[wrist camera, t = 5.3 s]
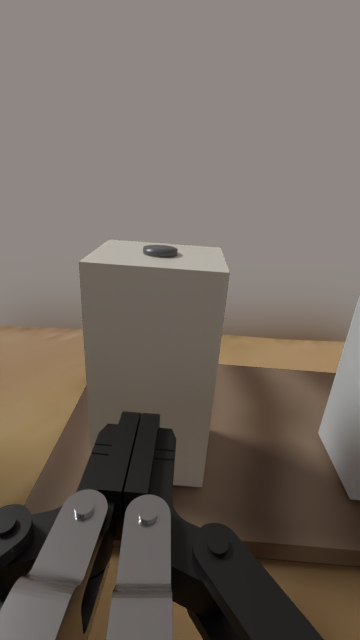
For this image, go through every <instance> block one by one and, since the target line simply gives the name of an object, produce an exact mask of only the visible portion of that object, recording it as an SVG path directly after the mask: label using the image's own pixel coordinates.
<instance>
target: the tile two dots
mask: <svg viewBox="0 0 360 640" xmlns="http://www.w3.org/2000/svg"><path fill="white" fill-rule="evenodd" d="M318 434H319V436H320V438H321V440H322V442H323V444H324V446H325V449H326V451H327V453H328V455H329V457H330V459H331V461H332V463H333V465H334V467H335V469H336V471H337V473H338V476H339V478H340V480H341V482H342V484H343V486H344V488H345V490H346V492H347V494H348V496H349V498H350V499H351V500H360V296H359V299H358V302H357V306H356V309H355V312H354V315H353V319H352V322H351V325H350V329H349V332H348V335H347V339H346V342H345V345H344V349H343V352H342V355H341V359H340V362H339V365H338V368H337V372H336V375H335V378H334V382H333V385H332V388H331V392H330V395H329V398H328V402H327V405H326V408H325V411H324V415H323V418H322V421H321V425H320V428H319V431H318Z"/></svg>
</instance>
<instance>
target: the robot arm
mask: <svg viewBox="0 0 360 640" xmlns="http://www.w3.org/2000/svg"><path fill="white" fill-rule="evenodd" d="M175 452H176V437H175V435H174V432H173V430H172V429H169V428H160V414H152V413H142V415H141V413H139V412H127V411H123V412H122V414H121V417H120V420H119V424H107V425H106V426H105V427H104V428H103V429H102V430H101V431H100V432H99V433H98V436H97V439H96V441H95V445H94V447H93V449H92V452H91V455H90V457H89V460H88V462H87V465H86V468H85V470H84V473H83V476H82V478H81V481H80V483H79V486H78V489H77V491H76V493H74V494H73V495H71V496H70V497H69V498H68V499H67V500H66V501H65V502H64V504H63V505H62V506H61V507H59V508H56V509H54V510H50V511H46V512H42V513H37V514H33V515H31V513H30V511H29V510H28V509H27V508H26V507H25V506H22V505H17V504H14V505H8V506H4V507H2V508H0V640H88V637H89V634H90V630H91V627H92V623H93V620H94V617H95V613H96V610H97V606H98V603H99V600H100V596H101V593H102V589H103V586H104V582H105V579H106V576H107V572H108V569H109V564H110V557H111V553H112V548H113V544H114V540H118V541H121V548H120V556H119V564H118V571H117V579H116V585H115V589H114V590H113V594H112V600H111V607H110V614H109V621H108V629H107V636H106V640H173V617H172V601H174V602H176V603H178V604H179V605H181V606H183V607H185V608H187V611H188V614H189V616H190V618H191V619H192V621H193V623H194V624H195V626H196V628H197V630H198V631H199V633H200V635H201V636H202V638H203V640H324V639H323V638H322V637H321V636H320V634H319V633H318V632H317V631H316V630H315V628H314V627H313V626H312V625H311V624H310V622H309V621H308V620H307V619H306V618H305V616H304V615H303V614H302V613H301V612H300V610H299V609H298V608H297V607H296V606H295V604H294V603H293V602H292V601H291V600H290V598H289V597H288V596H287V595H286V594H285V592H284V591H283V590H282V589H281V588H280V586H279V585H278V584H277V583H276V582H275V580H274V579H273V578H272V577H271V576H270V574H269V573H268V572H267V571H266V570H265V568H264V567H263V566H262V565H261V564H260V562H259V561H258V560H257V559H256V558H255V556H254V555H253V554H252V553H251V552H250V550H249V549H248V548H247V547H246V546H245V544H244V543H243V542H242V541H241V540H240V538H239V537H238V536H237V535H236V534H235V533H234V532H233V530H231V529H230V528H229V527H227V526H225V525H223V524H220V523H208V524H205V525H203V526H202V527H198V526H196V525H193V524H191V523H189V522H187V521H185V520H184V519H182V518H181V517H180V516H179V515H178V513H177V512H176V510H175V509H174V506H173V502H172V491H173V478H174V465H175Z"/></svg>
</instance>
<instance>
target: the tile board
mask: <svg viewBox="0 0 360 640" xmlns="http://www.w3.org/2000/svg"><path fill="white" fill-rule="evenodd" d="M335 375H336V373H326V372H313V371H300V370H287V369H274V368H261V367H248V366H235V365H222V364H218V368H217V376H216V383H215V391H214V399H213V407H212V415H211V422H210V430H209V438H208V446H207V454H206V461H205V469H204V477H203V485H202V487H192V486H180V485H173V491H172V502H173V506H174V509H175V510H176V512H177V513H178V515H179V516H180V517H181V518H182V519H184V520H185V521H187V522H189V523H191V524H193V525H196V526H198V527H202V526H203V525H205V524H208V523H220V524H223V525H225V526H227V527H229V528H230V529H231V530H233V532H234V533H235V534H236V535H237V536H238V537H239V538H240V540H241V541H242V542H243V543H244V544H245V546H246V547H247V548H248V549H249V550H250V552H251V553H252V554H253V555H254V556H255V558H264V559H276V560H288V561H300V562H312V563H324V564H335V565H347V566H359V567H360V500H351V499H350V498H349V496H348V494H347V492H346V490H345V488H344V486H343V484H342V482H341V480H340V478H339V476H338V473H337V471H336V469H335V467H334V465H333V463H332V461H331V459H330V457H329V455H328V453H327V451H326V449H325V446H324V444H323V442H322V440H321V438H320V436H319V434H318V431H319V428H320V425H321V421H322V418H323V415H324V411H325V408H326V405H327V402H328V398H329V395H330V392H331V388H332V385H333V382H334V378H335ZM90 455H91V447H90V431H89V415H88V399H87V386H86V388H85V390H84V391H83V393H82V395H81V397H80V399H79V401H78V403H77V405H76V407H75V409H74V411H73V413H72V414H71V416H70V418H69V420H68V422H67V424H66V426H65V428H64V430H63V432H62V434H61V436H60V438H59V439H58V441H57V443H56V445H55V447H54V449H53V451H52V453H51V455H50V457H49V459H48V461H47V463H46V464H45V466H44V468H43V470H42V472H41V474H40V476H39V478H38V480H37V482H36V484H35V486H34V488H33V489H32V491H31V493H30V495H29V497H28V499H27V501H26V503H25V505H24V506H25V507H26V508H27V509H28V510H29V511H30V513H31V515H33V514H37V513H42V512H46V511H50V510H54V509H56V508H59V507H61V506H62V505H63V504H64V502H65V501H66V500H67V499H68V498H69V497H70V496H71V495H73V494H74V493H76V491H77V489H78V486H79V483H80V481H81V478H82V476H83V473H84V470H85V468H86V465H87V462H88V460H89V457H90ZM113 546H121V541H118V540H114V544H113Z"/></svg>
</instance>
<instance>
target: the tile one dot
mask: <svg viewBox="0 0 360 640" xmlns="http://www.w3.org/2000/svg"><path fill="white" fill-rule="evenodd" d="M79 270H80V287H81V303H82V319H83V335H84V351H85V367H86V383H87V399H88V415H89V431H90V447H91V452H92V449H93V447H94V445H95V441H96V439H97V436H98V433H99V432H100V431H101V430H102V429H103V428H104V427H105V426H106V425H107V424H119V420H120V417H121V414H122V412H123V411H127V412H139V413H141V415H142V413H152V414H160V428H169V429H172V430H173V432H174V435H175V437H176V452H175V465H174V478H173V485H180V486H192V487H202V485H203V477H204V469H205V461H206V454H207V446H208V438H209V430H210V422H211V415H212V407H213V399H214V391H215V383H216V376H217V368H218V360H219V352H220V344H221V337H222V329H223V321H224V313H225V306H226V297H227V290H228V282H229V273H230V272H229V270H228V267H227V264H226V261H225V258H224V256H223V253H222V250H221V248H218V247H204V246H189V245H176V244H162V243H147V242H133V241H120V240H108V241H107V242H106V243H104V244H103V245H101V246H100V247H99V248H97V249H96V250H94V251H93V252H92V253H90V254H89V255H87V256H86V257H85V258H84V259H82V260H81V261H79Z"/></svg>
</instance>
